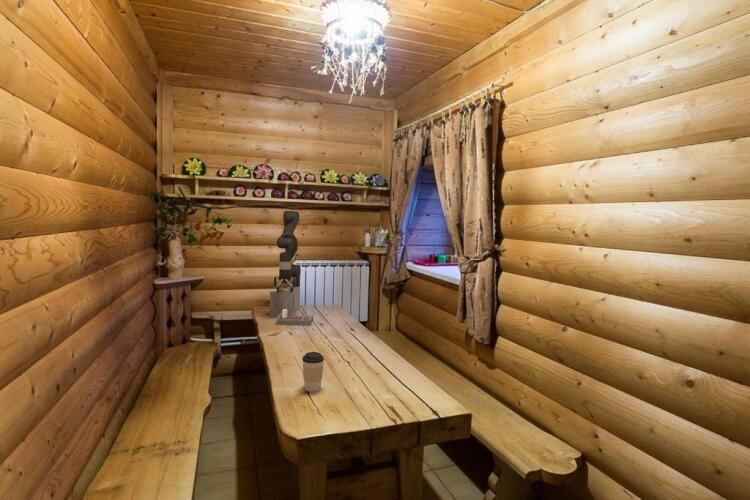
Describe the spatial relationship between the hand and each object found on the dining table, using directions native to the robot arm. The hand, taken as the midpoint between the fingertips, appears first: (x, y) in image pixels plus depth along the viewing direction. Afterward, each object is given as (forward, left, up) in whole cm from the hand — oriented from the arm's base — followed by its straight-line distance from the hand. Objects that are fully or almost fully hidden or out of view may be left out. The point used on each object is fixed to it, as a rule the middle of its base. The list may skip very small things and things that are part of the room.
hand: (284, 292), depth 273 cm
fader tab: (0, 0, -17) cm, 17 cm away
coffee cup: (+100, +34, -20) cm, 108 cm away
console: (0, +7, -20) cm, 21 cm away
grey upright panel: (-16, -6, -20) cm, 26 cm away
